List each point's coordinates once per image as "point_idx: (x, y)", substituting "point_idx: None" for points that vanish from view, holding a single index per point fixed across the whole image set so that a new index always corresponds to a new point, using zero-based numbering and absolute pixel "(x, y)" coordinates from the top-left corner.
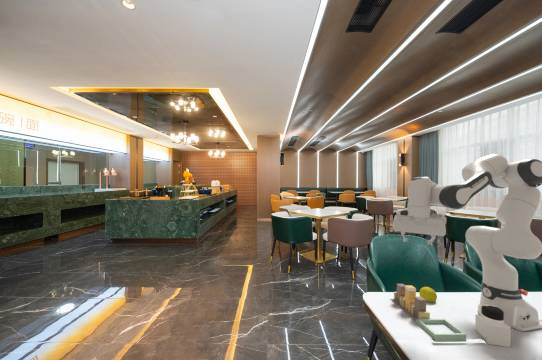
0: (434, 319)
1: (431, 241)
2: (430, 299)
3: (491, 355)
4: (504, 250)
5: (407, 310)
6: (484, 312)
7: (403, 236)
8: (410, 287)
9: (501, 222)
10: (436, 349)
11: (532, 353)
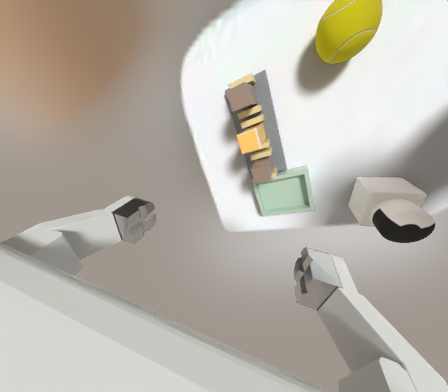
0: (284, 176)
1: (323, 312)
2: (335, 63)
3: (328, 225)
4: None
5: None
6: (375, 223)
7: (97, 247)
8: (246, 147)
9: None
10: (258, 222)
11: None
